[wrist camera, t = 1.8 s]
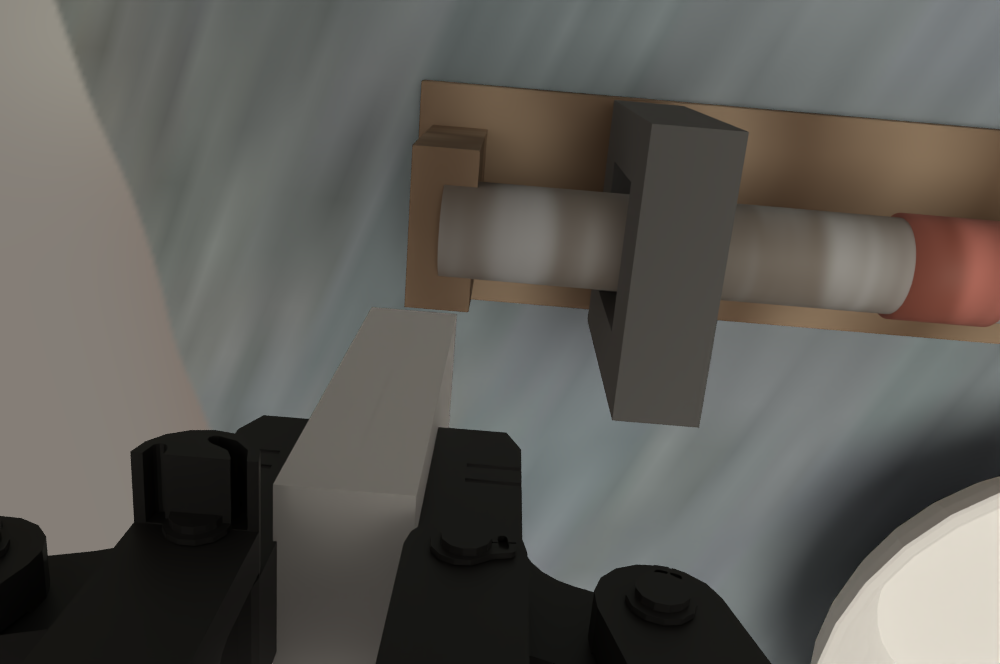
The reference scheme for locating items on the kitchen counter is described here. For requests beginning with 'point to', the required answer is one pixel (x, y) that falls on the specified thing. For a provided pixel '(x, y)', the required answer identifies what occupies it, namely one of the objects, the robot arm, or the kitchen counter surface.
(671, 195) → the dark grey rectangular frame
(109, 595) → the robot arm
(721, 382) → the kitchen counter surface
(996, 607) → the bowl
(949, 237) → the pipe stand
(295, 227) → the kitchen counter surface
